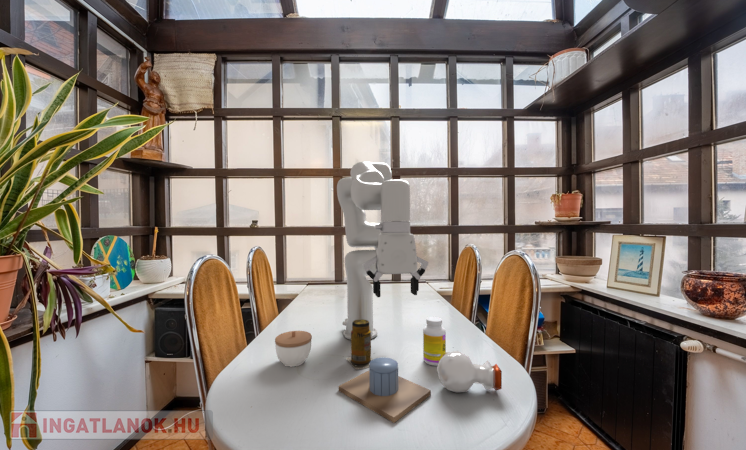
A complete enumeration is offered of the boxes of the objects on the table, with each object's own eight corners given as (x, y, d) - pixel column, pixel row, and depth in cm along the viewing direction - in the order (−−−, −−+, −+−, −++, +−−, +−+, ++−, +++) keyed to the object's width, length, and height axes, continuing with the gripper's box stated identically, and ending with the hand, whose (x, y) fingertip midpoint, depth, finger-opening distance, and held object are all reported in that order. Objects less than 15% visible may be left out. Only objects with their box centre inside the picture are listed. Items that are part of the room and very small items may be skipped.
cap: (391, 398, 71) (391, 373, 71) (364, 391, 74) (364, 366, 74) (402, 384, 77) (402, 360, 77) (377, 378, 80) (376, 355, 80)
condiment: (366, 354, 97) (366, 316, 97) (378, 365, 90) (378, 324, 90) (345, 358, 94) (345, 320, 94) (356, 370, 87) (355, 328, 86)
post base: (338, 390, 76) (338, 368, 76) (376, 370, 87) (376, 350, 86) (394, 423, 64) (393, 396, 64) (430, 395, 74) (430, 371, 74)
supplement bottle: (446, 367, 88) (445, 323, 88) (422, 365, 89) (422, 321, 89) (445, 357, 95) (445, 316, 94) (423, 355, 96) (423, 315, 96)
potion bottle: (433, 391, 78) (492, 400, 77) (440, 386, 70) (507, 396, 69) (433, 353, 83) (489, 361, 82) (440, 344, 75) (502, 353, 74)
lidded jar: (319, 361, 92) (318, 330, 92) (287, 374, 85) (287, 341, 85) (299, 351, 100) (298, 323, 100) (268, 362, 92) (268, 331, 92)
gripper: (364, 229, 73) (365, 300, 73) (432, 228, 76) (433, 296, 77) (359, 228, 80) (360, 293, 81) (422, 228, 84) (422, 290, 84)
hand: (396, 295), depth 79 cm, fingers open, 9 cm apart
